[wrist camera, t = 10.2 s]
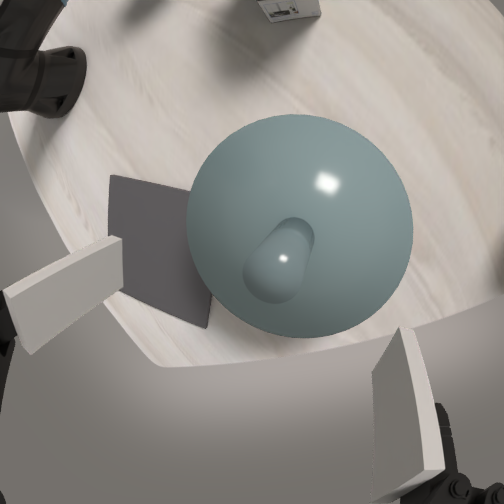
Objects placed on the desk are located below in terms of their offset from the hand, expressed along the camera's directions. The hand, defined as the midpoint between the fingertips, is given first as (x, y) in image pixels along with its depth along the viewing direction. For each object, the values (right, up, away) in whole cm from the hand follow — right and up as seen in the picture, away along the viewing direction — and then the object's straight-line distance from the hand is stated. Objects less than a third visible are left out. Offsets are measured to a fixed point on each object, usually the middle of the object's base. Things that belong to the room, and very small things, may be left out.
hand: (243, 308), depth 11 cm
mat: (-14, +3, +28) cm, 32 cm away
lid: (+4, +4, +12) cm, 13 cm away
